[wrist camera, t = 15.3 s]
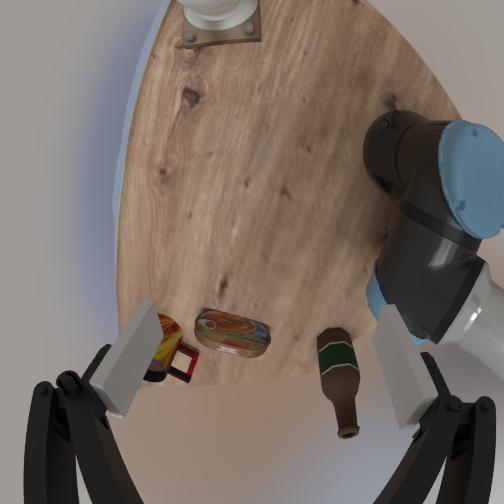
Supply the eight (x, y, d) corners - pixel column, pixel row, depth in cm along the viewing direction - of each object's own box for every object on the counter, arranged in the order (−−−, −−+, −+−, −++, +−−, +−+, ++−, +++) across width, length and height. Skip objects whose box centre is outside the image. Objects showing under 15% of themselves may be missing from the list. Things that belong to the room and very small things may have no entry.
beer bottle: (310, 348, 57) (317, 444, 35) (323, 323, 53) (339, 423, 32) (340, 354, 57) (357, 444, 35) (355, 329, 54) (381, 424, 32)
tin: (272, 325, 55) (270, 354, 47) (267, 335, 56) (265, 364, 48) (201, 305, 54) (190, 331, 47) (198, 316, 55) (188, 343, 48)
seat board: (257, -20, 27) (255, -34, 22) (260, 41, 33) (258, 31, 28) (188, -12, 28) (179, -24, 23) (186, 49, 34) (176, 41, 29)
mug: (200, 352, 60) (188, 391, 49) (146, 340, 61) (128, 375, 50) (200, 321, 56) (185, 362, 45) (141, 309, 57) (118, 345, 46)
